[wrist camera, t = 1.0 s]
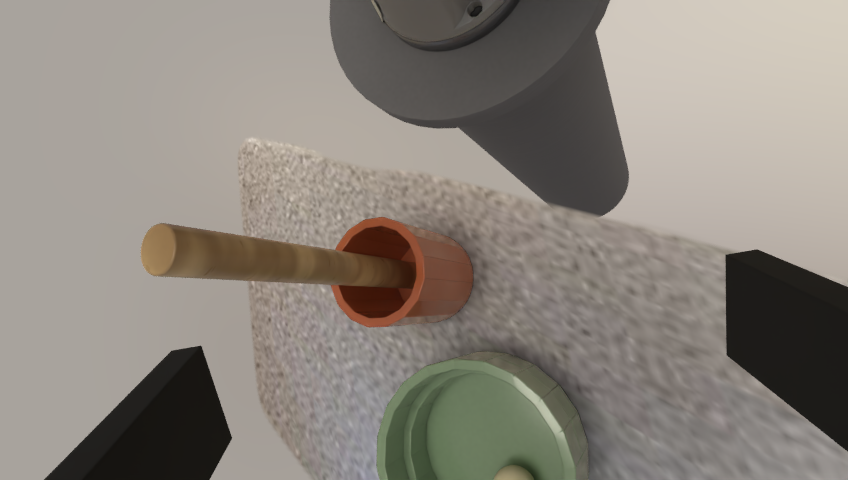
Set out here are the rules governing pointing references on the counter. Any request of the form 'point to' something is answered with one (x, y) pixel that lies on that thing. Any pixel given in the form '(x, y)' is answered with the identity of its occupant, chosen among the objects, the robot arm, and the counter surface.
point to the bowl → (481, 423)
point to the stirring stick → (264, 260)
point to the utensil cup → (435, 269)
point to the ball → (513, 473)
